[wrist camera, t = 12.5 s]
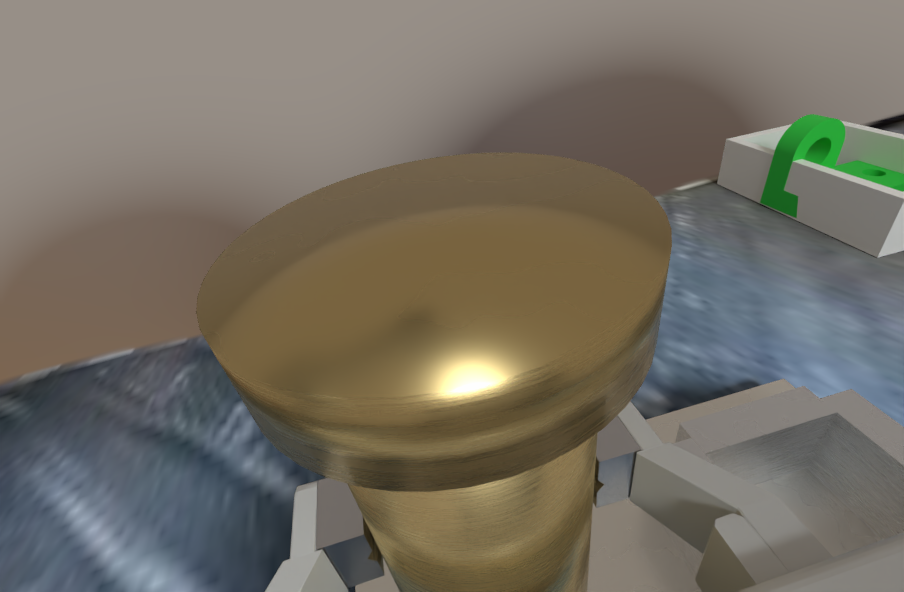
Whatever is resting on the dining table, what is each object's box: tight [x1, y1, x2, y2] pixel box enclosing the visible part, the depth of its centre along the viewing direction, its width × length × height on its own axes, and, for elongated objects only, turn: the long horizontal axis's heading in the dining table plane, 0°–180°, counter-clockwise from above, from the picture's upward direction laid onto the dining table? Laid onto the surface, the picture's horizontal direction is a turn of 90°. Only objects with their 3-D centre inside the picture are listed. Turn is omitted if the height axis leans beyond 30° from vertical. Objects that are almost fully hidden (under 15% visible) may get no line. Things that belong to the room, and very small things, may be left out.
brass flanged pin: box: [196, 153, 672, 592], centre depth 11 cm, size 6×6×16 cm
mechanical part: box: [760, 114, 904, 218], centre depth 41 cm, size 12×6×8 cm, turn 106°
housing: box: [355, 379, 904, 592], centre depth 17 cm, size 25×16×6 cm, turn 103°
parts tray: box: [717, 121, 904, 258], centre depth 42 cm, size 12×18×5 cm, turn 13°
